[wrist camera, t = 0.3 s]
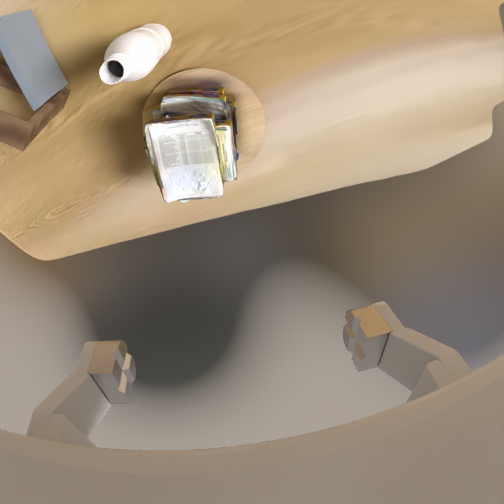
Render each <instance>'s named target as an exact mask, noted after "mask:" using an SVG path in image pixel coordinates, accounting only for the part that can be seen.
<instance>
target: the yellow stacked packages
mask: <svg viewBox="0 0 504 504" xmlns="http://www.w3.org/2000/svg"><path fill="white" fill-rule="evenodd" d="M142 123H143V137H144V141H145V144H146V145H147V147H146V148H145V151H146V153H147V156H148V158H149V160H150V163H151V167H152V170H153V173H154V176H155V179H156V181H157V183H158V186H159V187H160V190H161V193H162V196H163V199H164V201H165V202H172V201H175V200H178V201H180V202H182V203H183V202H187V201H189V200H197V199H211V198H217V197H221V196H223V193H224V182H225V181H231V180H236V179H237V174H238V172H239V171H241V170H242V169H244V168H245V167H247V166H248V165H249V164H250V163H251V162H252V161H253V160H254V159H255V158H256V156H257V155H258V153H259V152H260V150H261V148H262V146H263V143H264V140H265V135H266V118H265V114H264V110H263V107H262V105H261V103H260V101H259V99H258V98H257V96H256V95H255V94H254V92H253V91H252V90H251V89H250V88H249V87H248V86H247V85H246V84H245V83H243V82H242V81H241V80H239V79H238V78H236V77H234V76H232V75H230V74H228V73H225V72H222V71H218V70H213V69H204V68H200V69H190V70H185V71H182V72H179V73H176V74H174V75H172V76H170V77H168V78H167V79H165V80H164V81H162V82H161V83H160V84H159V85H158V86H157V87H156V88H155V89H154V90H153V91H152V92H151V94H150V95H149V97H148V99H147V101H146V103H145V105H144V109H143V113H142Z"/></svg>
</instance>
